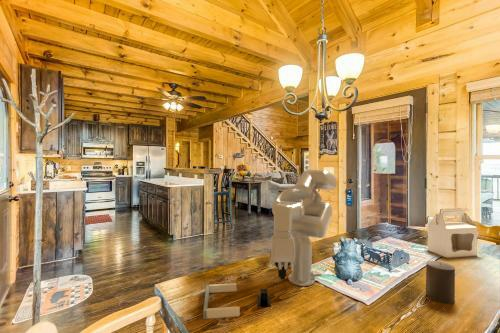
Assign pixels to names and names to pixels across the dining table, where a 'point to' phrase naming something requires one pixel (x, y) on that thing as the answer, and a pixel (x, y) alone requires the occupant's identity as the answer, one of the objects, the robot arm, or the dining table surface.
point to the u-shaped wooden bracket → (224, 310)
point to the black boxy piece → (263, 299)
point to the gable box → (461, 233)
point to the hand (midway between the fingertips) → (282, 278)
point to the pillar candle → (440, 281)
